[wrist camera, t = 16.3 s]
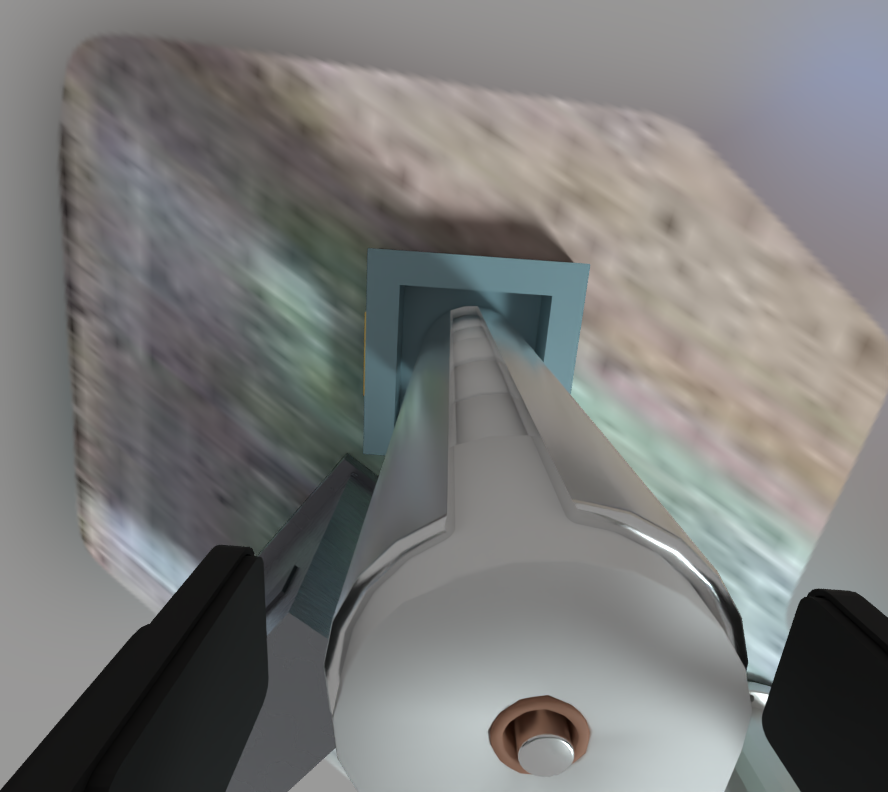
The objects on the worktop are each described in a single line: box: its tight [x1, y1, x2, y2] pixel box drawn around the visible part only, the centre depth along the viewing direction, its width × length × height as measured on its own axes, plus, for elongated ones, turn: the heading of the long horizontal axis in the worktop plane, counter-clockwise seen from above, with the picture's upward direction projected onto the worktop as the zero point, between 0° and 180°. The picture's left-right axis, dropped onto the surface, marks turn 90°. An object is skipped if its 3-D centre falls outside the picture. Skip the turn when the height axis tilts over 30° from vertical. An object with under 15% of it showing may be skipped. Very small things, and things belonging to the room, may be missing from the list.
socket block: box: [363, 248, 590, 455], centre depth 29 cm, size 12×12×4 cm
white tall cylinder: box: [324, 306, 752, 792], centre depth 18 cm, size 6×6×25 cm
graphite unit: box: [226, 453, 378, 792], centre depth 29 cm, size 8×15×14 cm, turn 139°
